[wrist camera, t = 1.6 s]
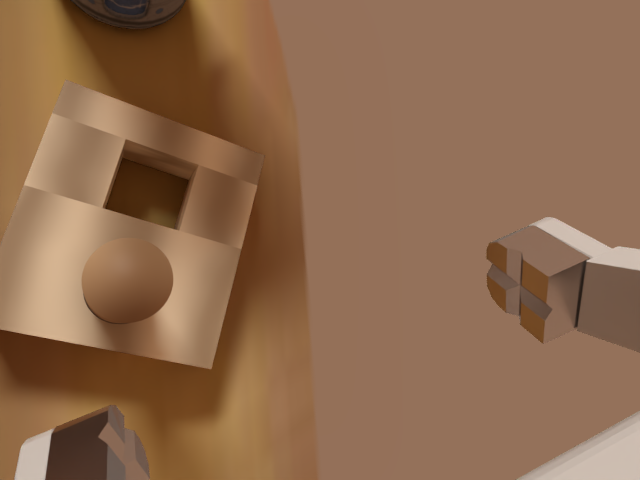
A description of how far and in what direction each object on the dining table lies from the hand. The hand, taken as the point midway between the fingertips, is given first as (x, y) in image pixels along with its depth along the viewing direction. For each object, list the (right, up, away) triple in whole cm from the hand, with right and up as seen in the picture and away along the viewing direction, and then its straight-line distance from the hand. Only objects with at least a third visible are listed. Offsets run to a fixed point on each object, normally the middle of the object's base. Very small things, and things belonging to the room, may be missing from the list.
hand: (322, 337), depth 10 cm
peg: (-13, -1, +20) cm, 24 cm away
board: (-14, +2, +25) cm, 28 cm away
